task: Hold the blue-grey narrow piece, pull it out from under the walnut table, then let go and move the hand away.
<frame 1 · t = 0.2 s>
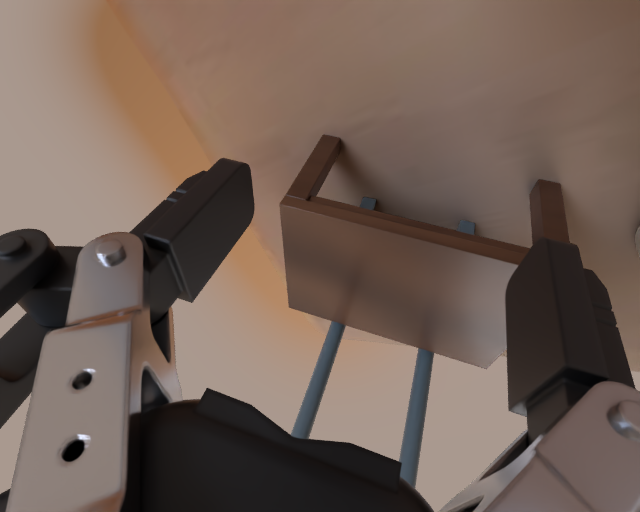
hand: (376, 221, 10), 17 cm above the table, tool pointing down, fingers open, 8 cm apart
walnut table: (414, 218, 32), on the table
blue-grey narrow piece: (383, 337, 28), point 11 cm above the table, slide at 0.0 cm
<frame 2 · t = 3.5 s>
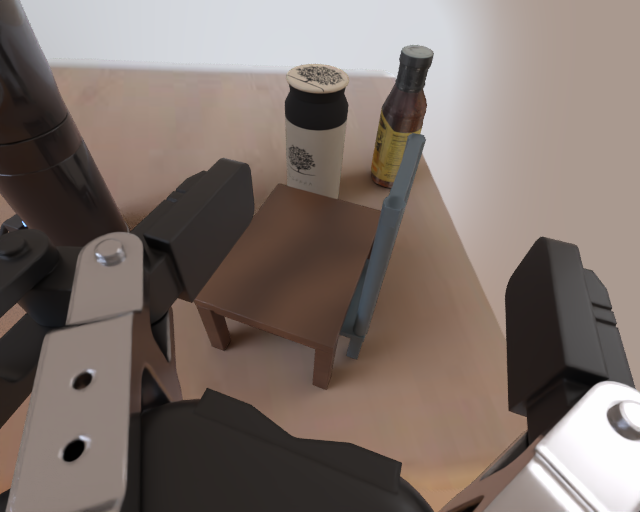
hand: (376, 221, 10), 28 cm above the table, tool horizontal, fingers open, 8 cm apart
walnut table: (299, 300, 42), on the table
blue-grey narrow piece: (336, 249, 33), point 11 cm above the table, slide at 0.0 cm
sauce bottle: (387, 180, 59), on the table
travel mug: (312, 196, 55), on the table
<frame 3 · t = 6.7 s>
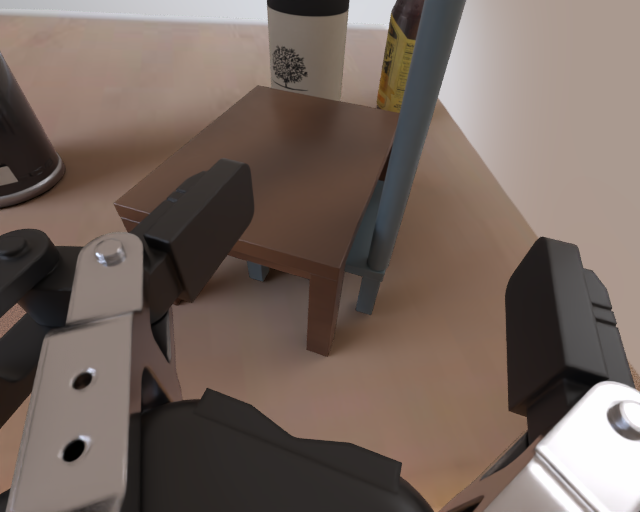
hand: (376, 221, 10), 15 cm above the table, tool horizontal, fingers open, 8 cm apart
walnut table: (288, 242, 30), on the table
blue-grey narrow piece: (339, 138, 22), point 11 cm above the table, slide at 0.0 cm
sauce bottle: (396, 119, 48), on the table
travel mug: (305, 133, 44), on the table
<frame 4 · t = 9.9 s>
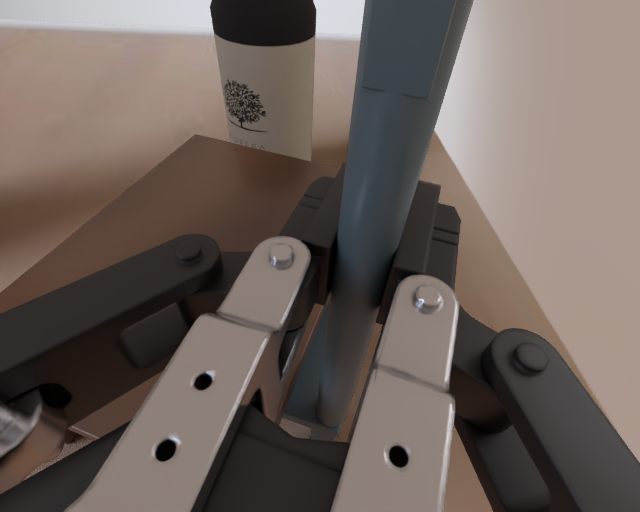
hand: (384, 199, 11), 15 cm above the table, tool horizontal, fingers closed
walnut table: (233, 336, 24), on the table
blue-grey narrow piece: (276, 239, 15), point 11 cm above the table, slide at 0.0 cm, touching gripper
travel mug: (273, 173, 38), on the table
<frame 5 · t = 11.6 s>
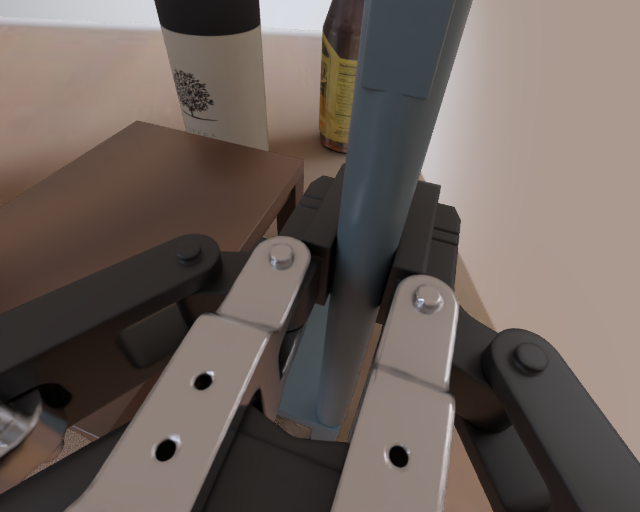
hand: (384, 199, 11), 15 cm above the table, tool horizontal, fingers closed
walnut table: (171, 314, 25), on the table
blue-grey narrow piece: (276, 239, 15), point 11 cm above the table, slide at 5.0 cm, touching gripper
sauce bottle: (343, 144, 43), on the table
travel mug: (233, 163, 38), on the table
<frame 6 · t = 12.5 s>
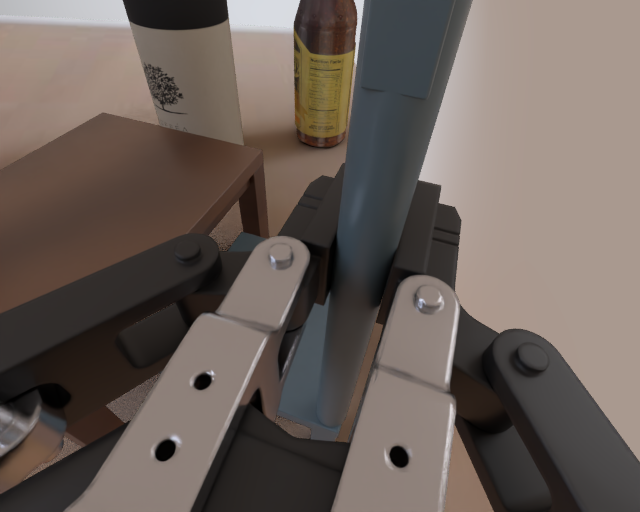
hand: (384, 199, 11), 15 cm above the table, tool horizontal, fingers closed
walnut table: (135, 301, 25), on the table
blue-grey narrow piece: (276, 239, 15), point 11 cm above the table, slide at 7.9 cm, touching gripper
sauce bottle: (319, 139, 43), on the table
travel mug: (209, 157, 39), on the table
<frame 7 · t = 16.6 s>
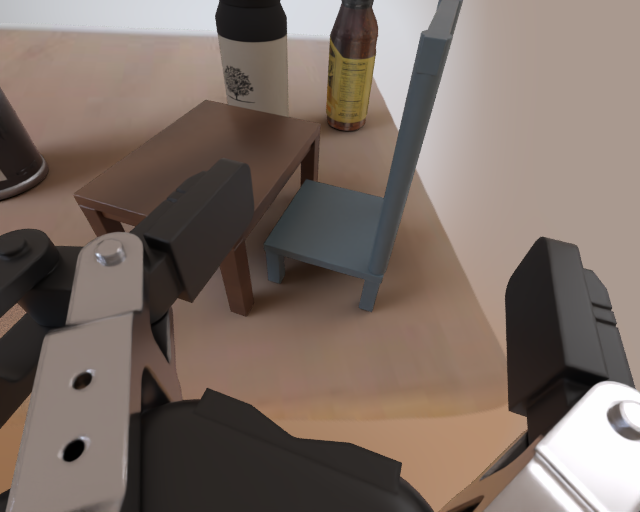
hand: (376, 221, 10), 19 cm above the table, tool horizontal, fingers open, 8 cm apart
walnut table: (230, 230, 37), on the table
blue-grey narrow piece: (346, 166, 27), point 11 cm above the table, slide at 7.9 cm
sauce bottle: (344, 125, 54), on the table
travel mug: (261, 138, 50), on the table
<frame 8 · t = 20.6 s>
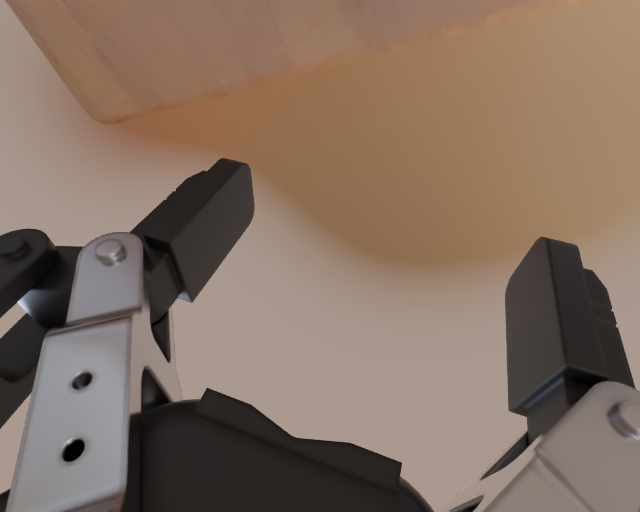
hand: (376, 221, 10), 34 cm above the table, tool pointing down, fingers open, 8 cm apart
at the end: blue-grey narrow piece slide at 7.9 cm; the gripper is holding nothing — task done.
